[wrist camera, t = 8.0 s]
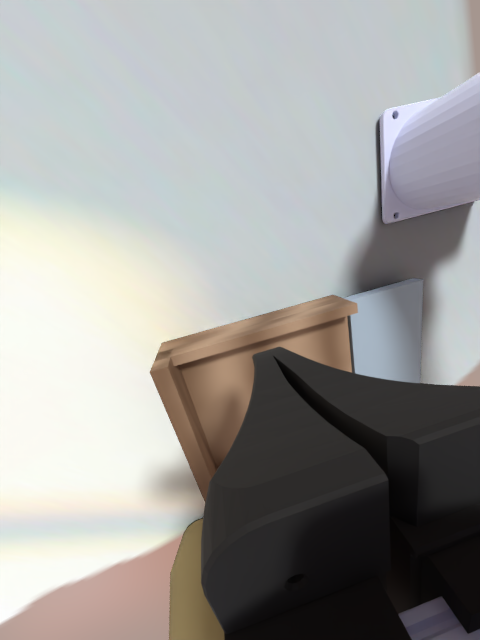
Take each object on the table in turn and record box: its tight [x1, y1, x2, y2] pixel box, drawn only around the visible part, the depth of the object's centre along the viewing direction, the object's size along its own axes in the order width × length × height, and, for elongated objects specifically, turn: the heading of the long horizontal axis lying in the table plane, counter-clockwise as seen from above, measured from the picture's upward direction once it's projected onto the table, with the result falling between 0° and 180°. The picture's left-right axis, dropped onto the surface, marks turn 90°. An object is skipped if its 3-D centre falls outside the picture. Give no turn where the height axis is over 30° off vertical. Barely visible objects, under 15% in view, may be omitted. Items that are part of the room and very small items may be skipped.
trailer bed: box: [150, 295, 358, 502], centre depth 20 cm, size 16×14×5 cm
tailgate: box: [343, 278, 423, 383], centre depth 22 cm, size 1×14×7 cm
